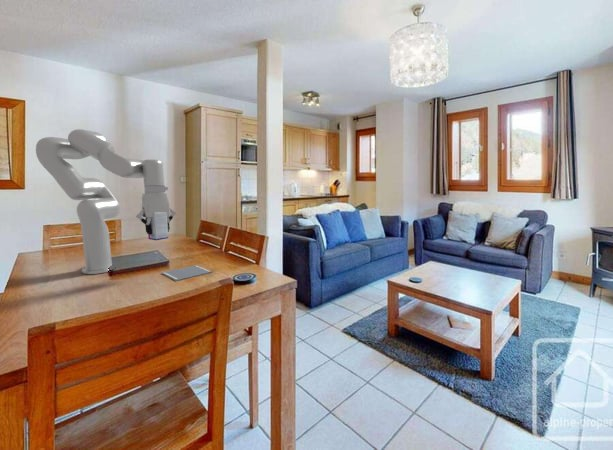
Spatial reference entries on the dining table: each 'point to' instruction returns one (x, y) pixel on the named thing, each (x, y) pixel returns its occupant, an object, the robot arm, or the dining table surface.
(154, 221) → the supplement box
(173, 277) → the mat
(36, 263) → the dining table surface
